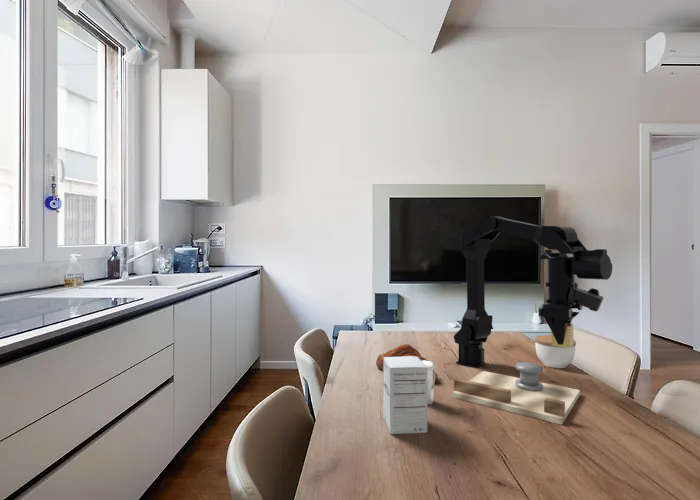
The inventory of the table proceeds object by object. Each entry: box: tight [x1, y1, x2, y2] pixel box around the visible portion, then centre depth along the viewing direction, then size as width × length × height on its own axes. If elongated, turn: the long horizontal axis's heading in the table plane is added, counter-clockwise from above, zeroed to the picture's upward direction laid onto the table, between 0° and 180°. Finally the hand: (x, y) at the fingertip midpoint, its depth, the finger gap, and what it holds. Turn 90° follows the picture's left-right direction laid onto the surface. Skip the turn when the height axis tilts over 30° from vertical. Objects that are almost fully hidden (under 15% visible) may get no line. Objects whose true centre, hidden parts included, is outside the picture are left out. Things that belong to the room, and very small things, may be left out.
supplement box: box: [382, 356, 428, 435], centre depth 78 cm, size 7×7×13 cm
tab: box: [550, 323, 574, 348], centre depth 97 cm, size 4×4×5 cm
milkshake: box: [422, 359, 437, 405], centre depth 90 cm, size 4×5×10 cm
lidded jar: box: [534, 334, 577, 369], centre depth 118 cm, size 11×11×9 cm
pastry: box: [375, 343, 439, 384], centre depth 110 cm, size 17×15×8 cm
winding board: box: [451, 370, 581, 426], centre depth 93 cm, size 23×20×4 cm
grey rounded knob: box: [515, 361, 544, 391], centre depth 96 cm, size 6×6×5 cm
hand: (562, 342), depth 97 cm, fingers closed on tab, 4 cm apart
